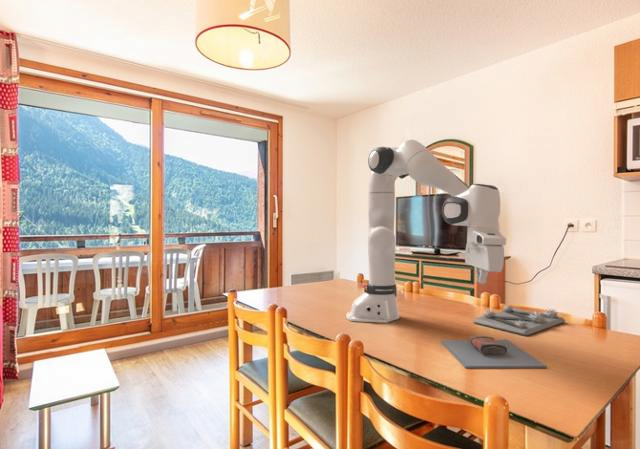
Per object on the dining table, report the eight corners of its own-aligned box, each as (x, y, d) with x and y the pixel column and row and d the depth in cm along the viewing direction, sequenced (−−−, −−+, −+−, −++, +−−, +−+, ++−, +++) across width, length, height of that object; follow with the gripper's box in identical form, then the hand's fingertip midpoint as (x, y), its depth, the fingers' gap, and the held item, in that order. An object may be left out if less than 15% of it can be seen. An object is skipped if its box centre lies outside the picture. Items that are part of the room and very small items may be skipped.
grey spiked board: (512, 312, 159) (511, 296, 159) (566, 324, 141) (566, 305, 141) (471, 324, 143) (471, 306, 143) (527, 338, 125) (526, 318, 125)
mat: (465, 368, 99) (465, 366, 99) (440, 341, 121) (440, 340, 121) (546, 368, 98) (546, 365, 98) (507, 341, 120) (507, 339, 120)
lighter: (507, 356, 106) (491, 344, 116) (507, 344, 106) (492, 334, 116) (479, 354, 107) (466, 343, 117) (480, 343, 107) (467, 332, 117)
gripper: (460, 235, 119) (459, 276, 119) (485, 238, 99) (483, 288, 99) (480, 236, 119) (478, 277, 119) (509, 239, 98) (507, 289, 99)
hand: (481, 282), depth 109 cm, fingers closed
